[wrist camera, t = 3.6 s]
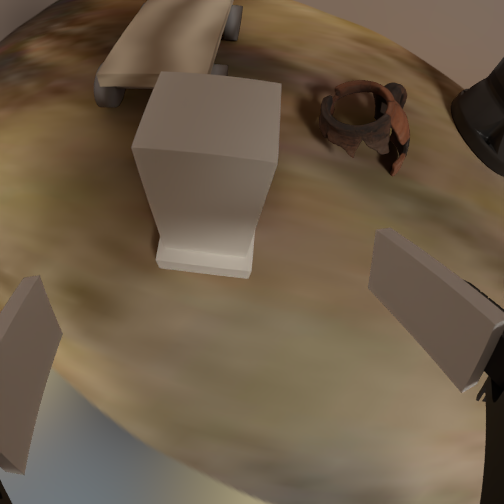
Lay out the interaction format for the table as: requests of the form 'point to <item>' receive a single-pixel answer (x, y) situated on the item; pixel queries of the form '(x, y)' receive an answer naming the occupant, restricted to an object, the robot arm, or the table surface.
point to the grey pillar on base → (208, 167)
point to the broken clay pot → (376, 132)
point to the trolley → (166, 45)
